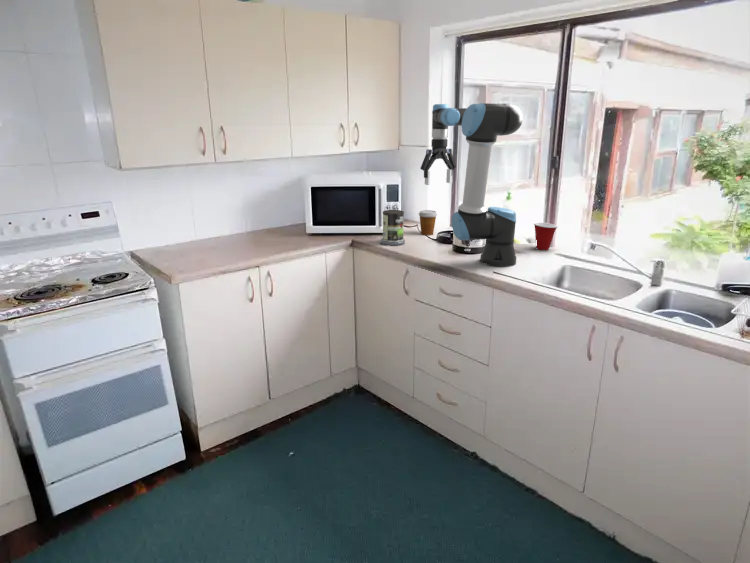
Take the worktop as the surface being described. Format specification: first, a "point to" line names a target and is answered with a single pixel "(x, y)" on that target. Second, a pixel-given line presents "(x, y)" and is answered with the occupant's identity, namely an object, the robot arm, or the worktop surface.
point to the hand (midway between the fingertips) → (437, 183)
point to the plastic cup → (544, 235)
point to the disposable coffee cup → (427, 221)
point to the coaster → (392, 243)
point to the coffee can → (393, 225)
